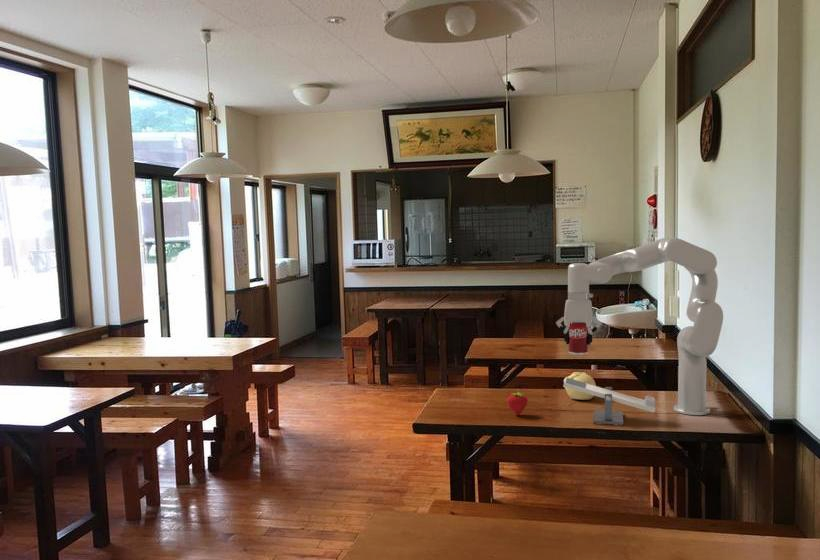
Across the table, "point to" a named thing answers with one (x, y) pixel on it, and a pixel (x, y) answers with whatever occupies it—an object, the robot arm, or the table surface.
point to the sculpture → (582, 378)
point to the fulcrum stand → (608, 412)
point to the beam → (617, 397)
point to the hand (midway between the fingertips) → (578, 343)
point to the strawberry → (517, 402)
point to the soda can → (578, 338)
